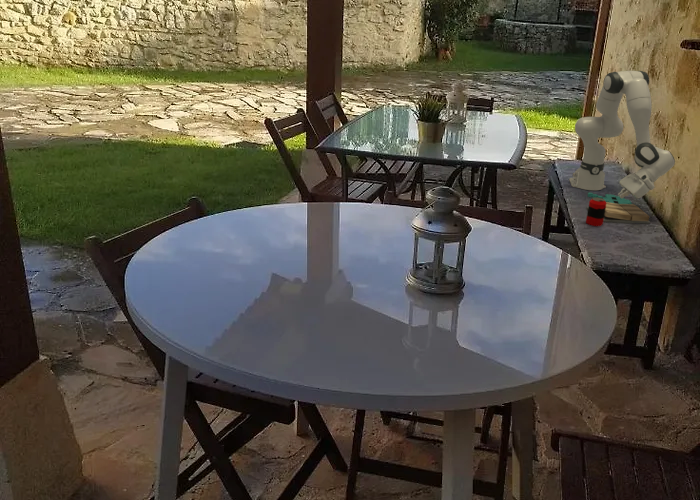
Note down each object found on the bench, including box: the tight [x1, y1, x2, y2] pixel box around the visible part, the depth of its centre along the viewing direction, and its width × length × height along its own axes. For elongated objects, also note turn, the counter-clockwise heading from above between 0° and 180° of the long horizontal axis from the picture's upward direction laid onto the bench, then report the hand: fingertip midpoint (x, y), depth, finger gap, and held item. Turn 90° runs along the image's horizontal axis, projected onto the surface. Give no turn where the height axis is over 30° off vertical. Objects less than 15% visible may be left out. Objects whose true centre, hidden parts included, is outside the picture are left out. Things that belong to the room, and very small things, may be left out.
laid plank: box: [619, 203, 650, 221], centre depth 331 cm, size 18×8×2 cm, turn 0°
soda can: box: [585, 197, 607, 227], centre depth 318 cm, size 8×8×12 cm
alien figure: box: [587, 192, 633, 204], centre depth 351 cm, size 20×2×20 cm
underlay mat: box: [585, 206, 651, 225], centre depth 331 cm, size 20×24×1 cm
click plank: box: [604, 202, 632, 221], centre depth 330 cm, size 18×12×2 cm
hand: (619, 196), depth 328 cm, fingers closed
